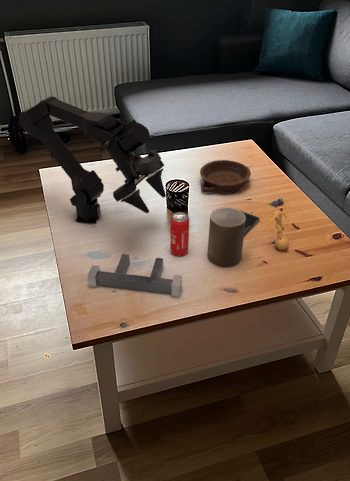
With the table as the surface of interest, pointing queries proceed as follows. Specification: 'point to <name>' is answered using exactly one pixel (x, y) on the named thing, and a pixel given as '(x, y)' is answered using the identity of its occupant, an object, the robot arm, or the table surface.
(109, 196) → the table surface
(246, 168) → the dish
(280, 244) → the figurine
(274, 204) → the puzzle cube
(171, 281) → the rail dock
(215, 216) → the pillar candle
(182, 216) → the beverage can
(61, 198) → the table surface
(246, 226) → the phone
